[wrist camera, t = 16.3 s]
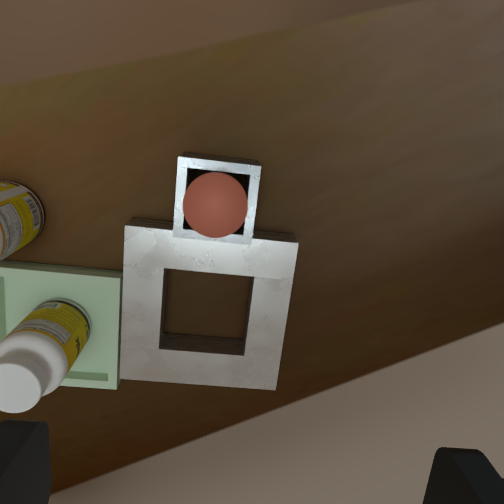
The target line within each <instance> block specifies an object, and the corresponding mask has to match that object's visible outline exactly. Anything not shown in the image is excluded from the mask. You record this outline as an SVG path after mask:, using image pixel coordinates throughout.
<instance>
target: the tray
mask: <svg viewBox="0 0 504 504" xmlns="http://www.w3.org/2000/svg"><path fill="white" fill-rule="evenodd" d="M122 295H123V271H116V270H105V269H94V268H84V267H73V266H63V265H52V264H41V263H31V262H20V261H10V260H1V261H0V342H1V341H2V340H3V339H4V338H5V337H6V336H7V335H8V334H9V333H10V332H11V331H12V330H13V329H14V328H15V327H16V326H17V325H18V324H19V323H20V322H21V321H22V320H23V319H24V318H25V317H26V316H27V315H28V314H29V313H30V312H31V311H32V310H33V309H34V308H36V307H37V306H38V305H39V304H41V303H42V302H44V301H47V300H50V299H65V300H69V301H72V302H74V303H76V304H77V305H79V306H80V307H81V308H82V309H83V310H84V311H85V312H86V313H87V315H88V317H89V319H90V323H91V333H90V337H89V339H88V341H87V343H86V344H85V346H84V348H83V349H82V351H81V353H80V354H79V356H78V357H77V359H76V361H75V362H74V364H73V366H72V367H71V369H70V370H69V372H68V373H67V375H66V377H65V378H64V380H63V381H62V382H61V384H60V386H74V387H88V388H102V389H116V390H117V387H118V385H119V382H120V380H121V379H120V351H121V323H122Z"/></svg>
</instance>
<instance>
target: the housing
mask: <svg viewBox="0 0 504 504" xmlns="http://www.w3.org/2000/svg"><path fill="white" fill-rule="evenodd" d="M192 168H196V169H204V170H213V171H222V172H230V173H239V174H247V178H246V187H245V193H246V196H247V201H248V211H247V216H246V218H245V221H244V222H243V224H242V225H241V227H240V228H239V229H238V230H237V231H235V232H234V233H232V234H230V235H228V236H225V237H221V238H210V237H206V236H203V235H201V234H199V233H197V232H196V231H195V230H193V229H192V227H191V226H190V225H189V224H188V222H187V221H186V219H185V216H184V213H183V198H184V194H185V192H186V190H187V188H188V187H189V185H190V184H191V180H192ZM260 172H261V165H260V164H259V162H258V161H257V160H250V159H241V158H233V157H224V156H216V155H207V154H199V153H191V152H184V153H183V154H181V155H180V156H178V166H177V181H176V195H175V210H174V222H173V221H163V220H153V219H144V218H134V217H133V218H132V219H131V220H130V221H129V222H128V223H127V224H126V225H125V239H124V267H123V295H122V323H121V351H120V379H131V380H145V381H158V382H172V383H185V384H199V385H212V386H226V387H239V388H253V389H267V390H276V384H277V378H278V371H279V365H280V358H281V352H282V346H283V339H284V333H285V327H286V320H287V314H288V308H289V301H290V295H291V289H292V282H293V276H294V269H295V263H296V257H297V250H298V244H299V243H298V241H297V240H296V238H295V236H294V234H287V233H277V232H268V231H258V230H253V228H254V220H255V212H256V204H257V196H258V188H259V180H260ZM168 268H169V269H179V270H190V271H200V272H211V273H221V274H232V275H242V276H251V282H250V290H249V298H248V305H247V313H246V321H245V329H244V337H243V339H232V338H220V337H208V336H196V335H184V334H172V333H164V321H165V307H166V292H167V277H168Z"/></svg>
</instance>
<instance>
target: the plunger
mask: <svg viewBox="0 0 504 504" xmlns="http://www.w3.org/2000/svg"><path fill="white" fill-rule="evenodd" d="M247 211H248V201H247V196H246V193H245V191H244V189H243V187H242V186H241V184H240V183H239V182H238V181H237V180H236V179H235V178H234V177H232V176H231V175H230V174H228V173H226V172H222V171H211V172H208V173H205V174H203V175H201V176H199V177H197V178H196V179H195V180H194V181H193V182H192V183H191V184H190V185H189V187H188V188H187V190H186V192H185V194H184V198H183V213H184V216H185V219H186V221H187V222H188V224H189V225H190V226H191V227H192V229H193V230H195V231H196V232H197V233H199V234H201V235H203V236H206V237H210V238H221V237H225V236H228V235H230V234H232V233H234V232H235V231H237V230H238V229H239V228H240V227H241V225H242V224H243V222H244V221H245V218H246V216H247Z"/></svg>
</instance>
